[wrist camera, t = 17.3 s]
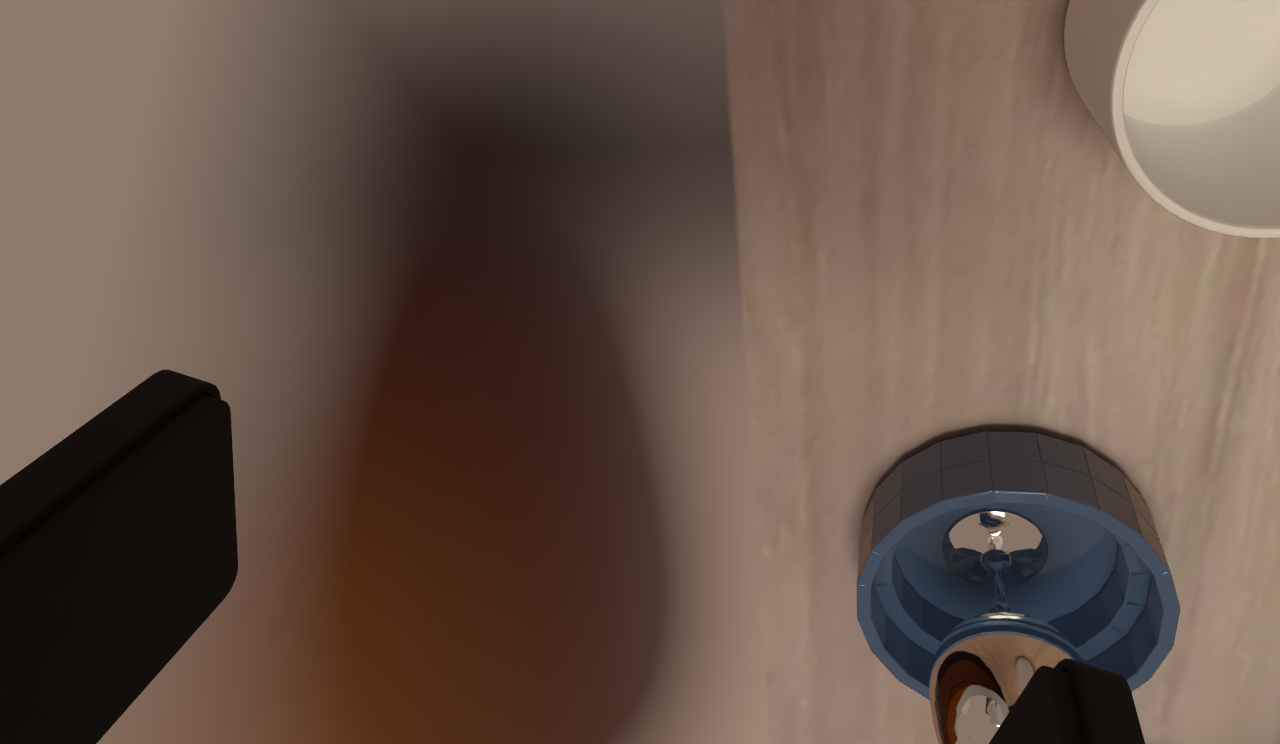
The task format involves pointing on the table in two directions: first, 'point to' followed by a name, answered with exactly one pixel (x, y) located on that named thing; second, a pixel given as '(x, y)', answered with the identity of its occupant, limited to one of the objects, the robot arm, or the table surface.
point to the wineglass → (991, 628)
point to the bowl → (1059, 594)
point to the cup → (1187, 102)
